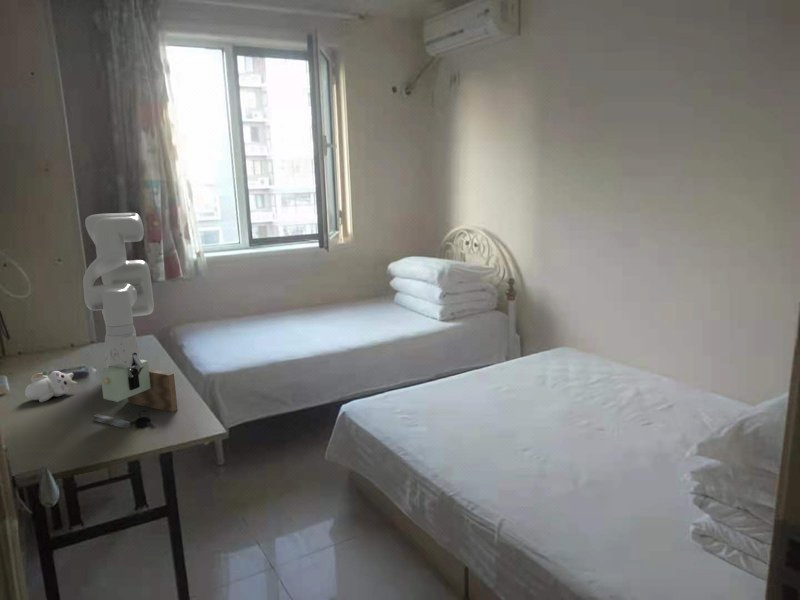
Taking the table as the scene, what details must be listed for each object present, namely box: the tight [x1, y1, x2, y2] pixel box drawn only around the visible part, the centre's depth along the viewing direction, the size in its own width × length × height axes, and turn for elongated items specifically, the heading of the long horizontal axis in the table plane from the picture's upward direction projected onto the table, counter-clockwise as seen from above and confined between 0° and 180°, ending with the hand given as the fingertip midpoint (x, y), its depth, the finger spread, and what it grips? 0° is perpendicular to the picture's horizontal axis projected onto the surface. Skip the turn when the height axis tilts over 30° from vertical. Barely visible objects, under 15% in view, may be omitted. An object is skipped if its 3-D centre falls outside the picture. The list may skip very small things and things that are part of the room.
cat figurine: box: [24, 370, 78, 403], centre depth 195 cm, size 10×8×15 cm
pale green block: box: [99, 358, 151, 402], centre depth 176 cm, size 6×13×9 cm, turn 153°
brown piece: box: [92, 368, 178, 429], centre depth 178 cm, size 20×16×12 cm
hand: (127, 386), depth 177 cm, fingers closed on pale green block, 6 cm apart
